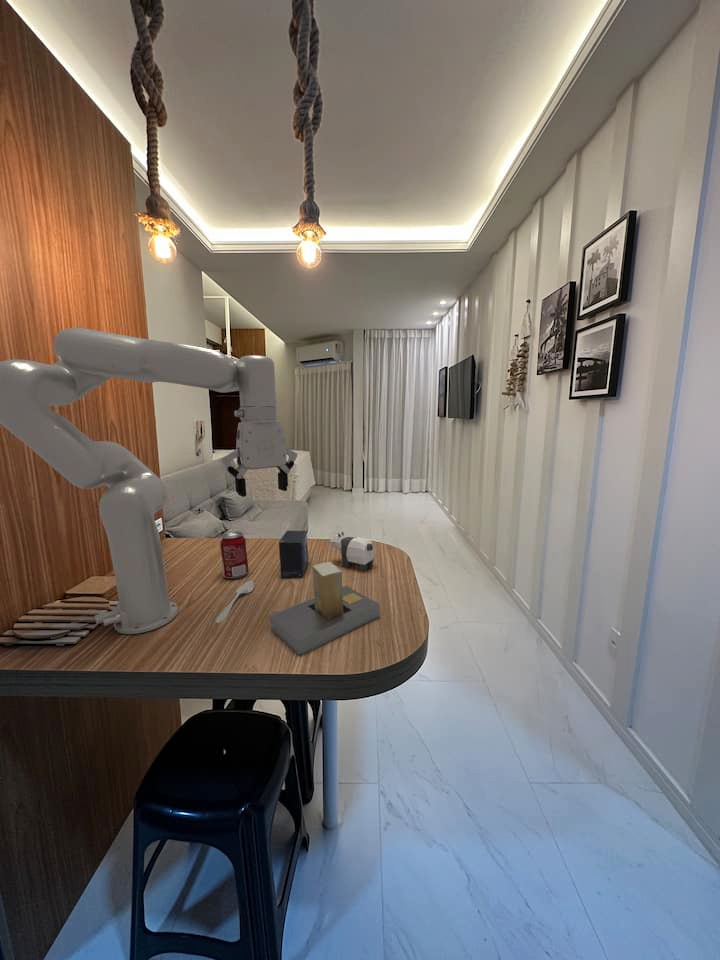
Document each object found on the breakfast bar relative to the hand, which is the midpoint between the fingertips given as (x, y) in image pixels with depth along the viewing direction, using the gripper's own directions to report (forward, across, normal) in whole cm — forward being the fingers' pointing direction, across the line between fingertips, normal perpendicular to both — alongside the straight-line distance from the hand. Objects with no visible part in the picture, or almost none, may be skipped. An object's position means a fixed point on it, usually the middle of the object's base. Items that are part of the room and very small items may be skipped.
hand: (263, 492), depth 85 cm
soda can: (+28, 0, +22) cm, 35 cm away
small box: (+27, +14, +13) cm, 33 cm away
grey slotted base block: (+27, +6, -16) cm, 32 cm away
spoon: (+28, -6, +6) cm, 29 cm away
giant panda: (+27, +28, +5) cm, 39 cm away
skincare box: (+27, +7, -16) cm, 32 cm away
